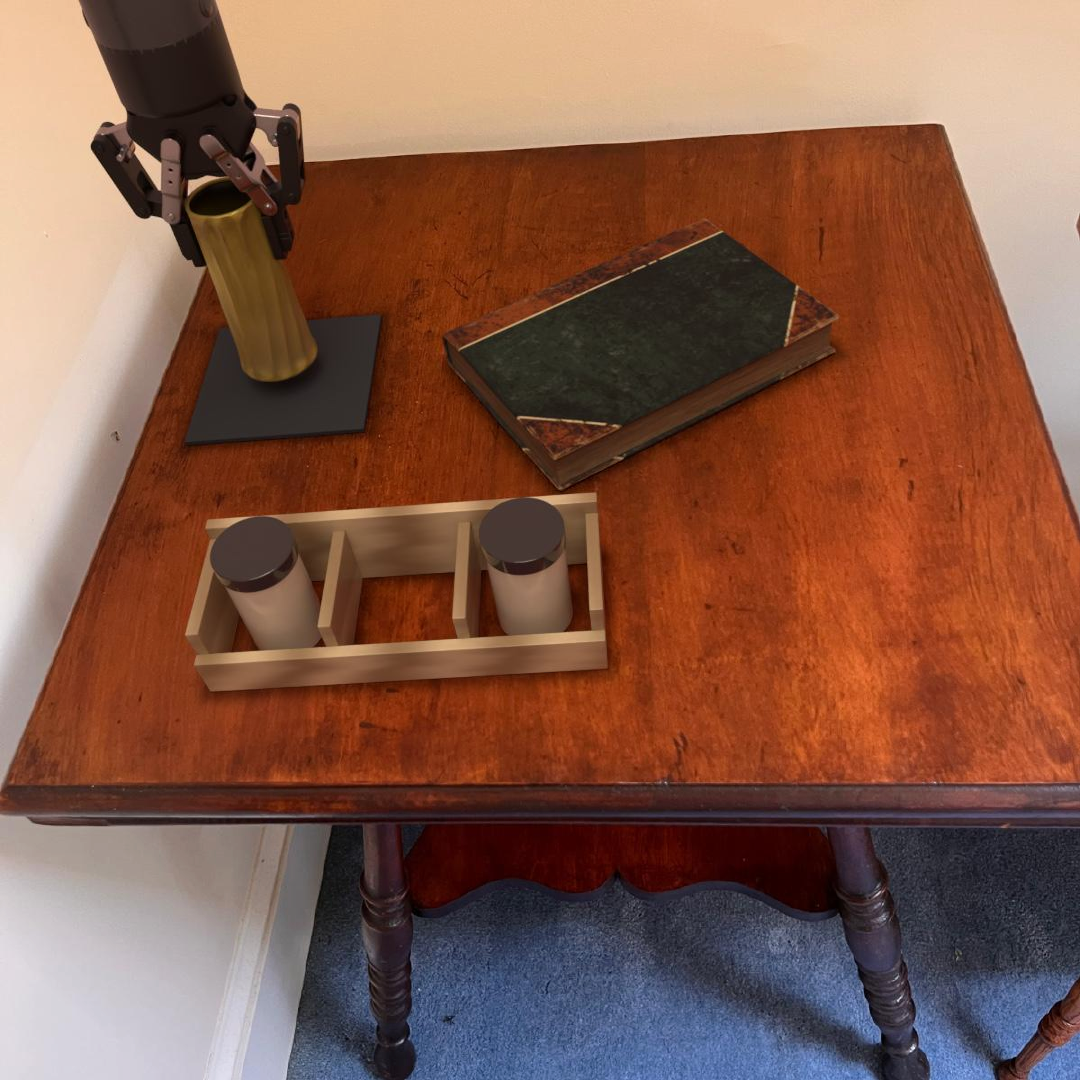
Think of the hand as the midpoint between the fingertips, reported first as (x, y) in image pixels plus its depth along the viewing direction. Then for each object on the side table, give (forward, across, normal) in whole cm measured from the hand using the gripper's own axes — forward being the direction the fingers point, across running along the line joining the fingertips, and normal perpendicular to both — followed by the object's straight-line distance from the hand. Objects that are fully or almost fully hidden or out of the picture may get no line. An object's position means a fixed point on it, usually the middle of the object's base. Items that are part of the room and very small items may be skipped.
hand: (242, 256), depth 75 cm
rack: (+12, -12, +25) cm, 30 cm away
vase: (+10, 0, 0) cm, 10 cm away
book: (+12, -28, +1) cm, 31 cm away
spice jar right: (+12, -20, +25) cm, 34 cm away
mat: (+12, 0, 0) cm, 12 cm away
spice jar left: (+12, -4, +25) cm, 28 cm away
